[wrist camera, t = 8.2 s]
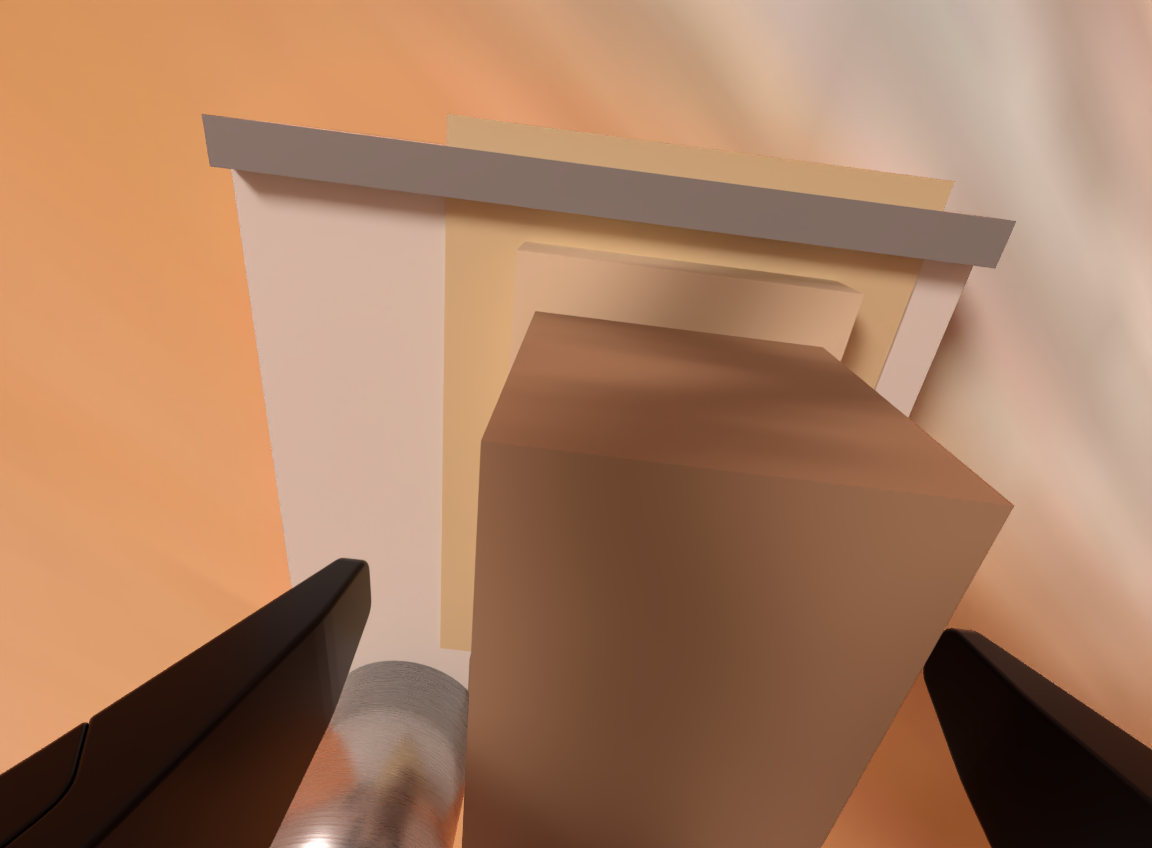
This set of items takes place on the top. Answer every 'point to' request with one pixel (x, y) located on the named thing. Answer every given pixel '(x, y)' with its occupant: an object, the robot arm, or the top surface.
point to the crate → (697, 560)
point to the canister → (385, 764)
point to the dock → (485, 306)
